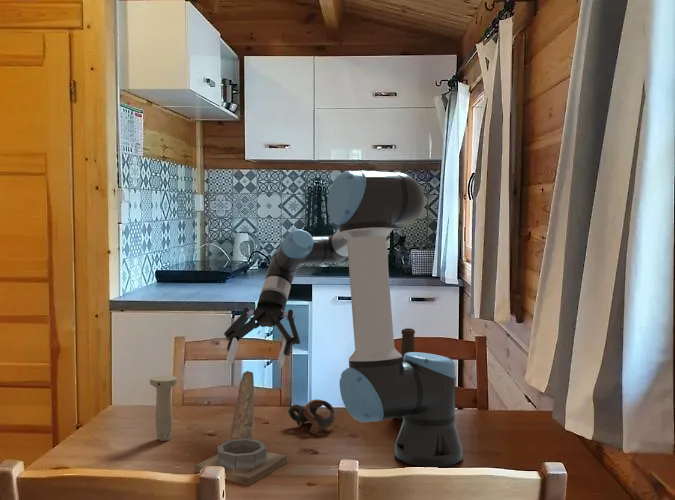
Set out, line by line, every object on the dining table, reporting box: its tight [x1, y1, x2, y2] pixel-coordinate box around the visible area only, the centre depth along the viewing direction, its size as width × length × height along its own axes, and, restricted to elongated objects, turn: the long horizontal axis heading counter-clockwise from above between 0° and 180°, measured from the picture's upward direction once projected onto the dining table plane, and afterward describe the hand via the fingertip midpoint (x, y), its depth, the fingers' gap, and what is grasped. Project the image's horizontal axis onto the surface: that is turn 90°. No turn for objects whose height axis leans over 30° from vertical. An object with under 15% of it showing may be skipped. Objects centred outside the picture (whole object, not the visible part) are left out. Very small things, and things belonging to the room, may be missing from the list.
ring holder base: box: [194, 438, 288, 486], centre depth 142 cm, size 14×14×4 cm
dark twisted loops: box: [287, 398, 336, 435], centre depth 168 cm, size 12×10×8 cm
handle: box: [149, 375, 178, 442], centre depth 159 cm, size 5×6×15 cm
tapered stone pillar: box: [229, 370, 255, 440], centre depth 156 cm, size 6×18×6 cm
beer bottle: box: [395, 327, 416, 421], centre depth 177 cm, size 8×8×24 cm
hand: (254, 363), depth 165 cm, fingers open, 13 cm apart
